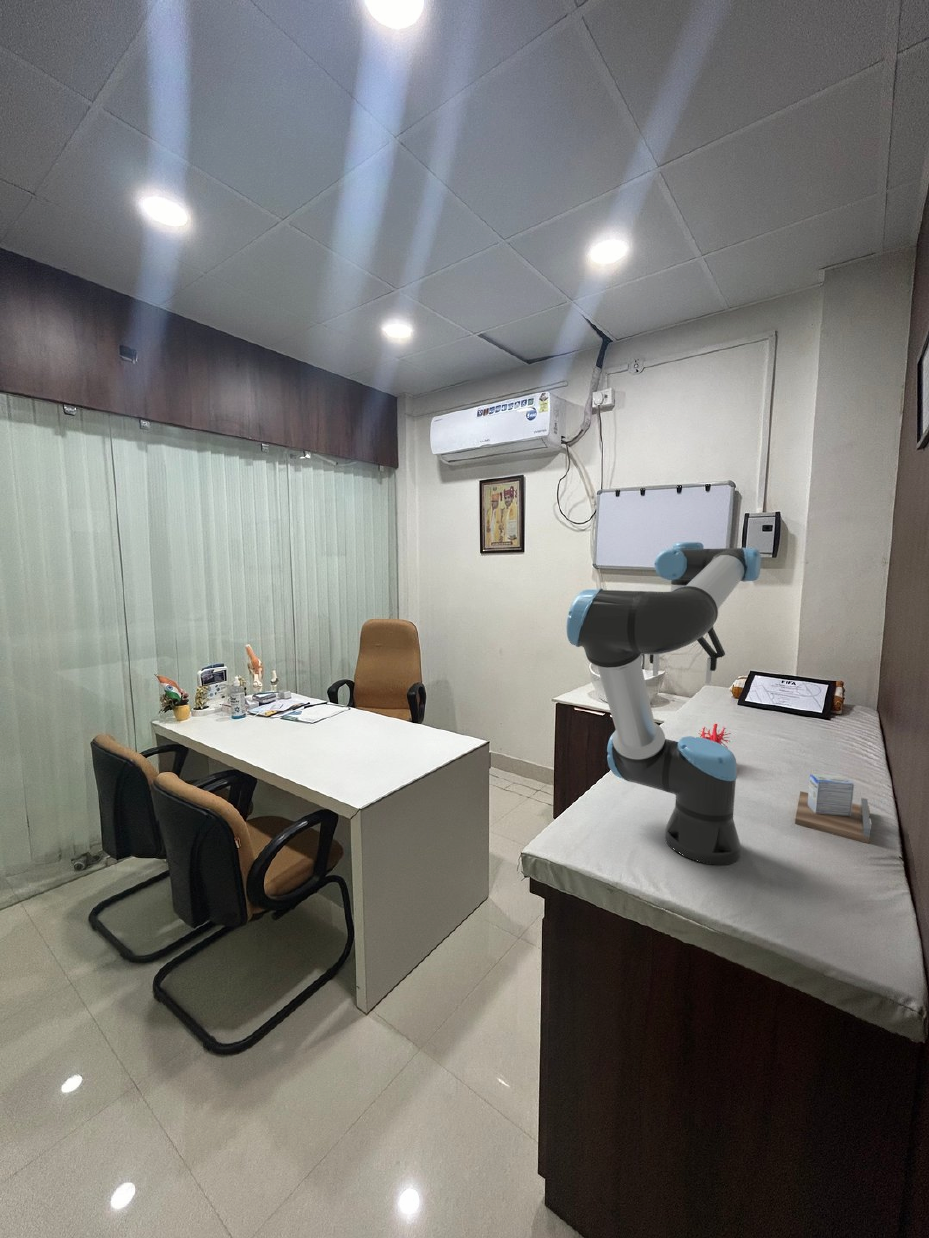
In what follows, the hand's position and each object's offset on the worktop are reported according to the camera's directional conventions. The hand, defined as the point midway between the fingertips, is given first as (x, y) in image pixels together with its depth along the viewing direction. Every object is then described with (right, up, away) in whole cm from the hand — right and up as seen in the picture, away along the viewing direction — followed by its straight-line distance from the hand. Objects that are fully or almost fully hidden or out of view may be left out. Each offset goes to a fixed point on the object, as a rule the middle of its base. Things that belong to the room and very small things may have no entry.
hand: (681, 678), depth 135 cm
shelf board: (+33, -33, -11) cm, 48 cm away
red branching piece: (+18, -30, +21) cm, 41 cm away
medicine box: (+32, -32, -11) cm, 47 cm away
